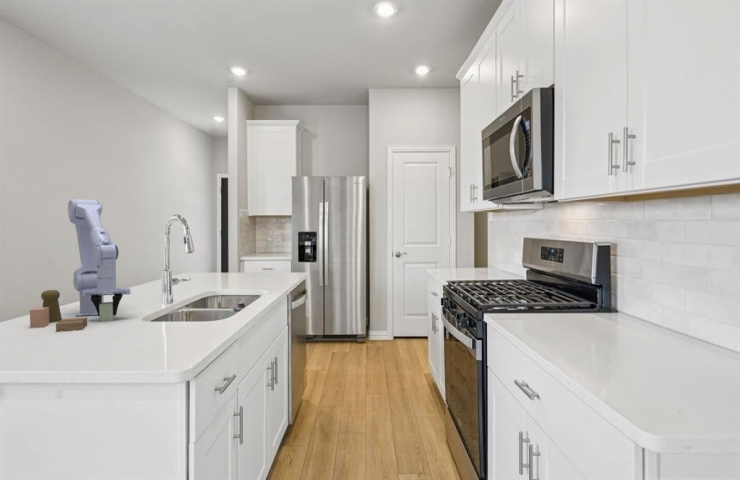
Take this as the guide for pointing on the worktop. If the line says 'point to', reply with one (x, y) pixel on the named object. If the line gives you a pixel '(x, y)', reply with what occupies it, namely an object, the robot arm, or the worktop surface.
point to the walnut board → (71, 324)
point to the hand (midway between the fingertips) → (107, 315)
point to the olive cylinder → (52, 304)
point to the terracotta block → (39, 317)
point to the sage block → (106, 311)
